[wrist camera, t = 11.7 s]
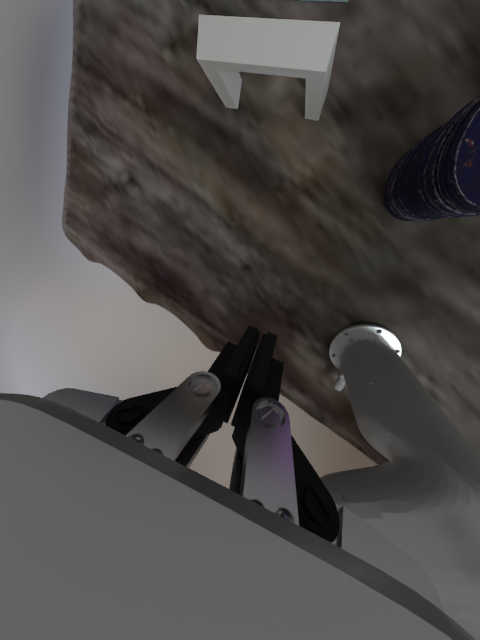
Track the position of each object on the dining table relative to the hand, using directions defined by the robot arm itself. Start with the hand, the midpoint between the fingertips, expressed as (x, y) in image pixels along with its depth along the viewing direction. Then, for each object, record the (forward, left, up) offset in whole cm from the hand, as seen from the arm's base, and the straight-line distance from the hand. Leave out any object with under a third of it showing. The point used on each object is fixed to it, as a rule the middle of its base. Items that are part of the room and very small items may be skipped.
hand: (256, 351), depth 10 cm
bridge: (+22, +10, -29) cm, 38 cm away
